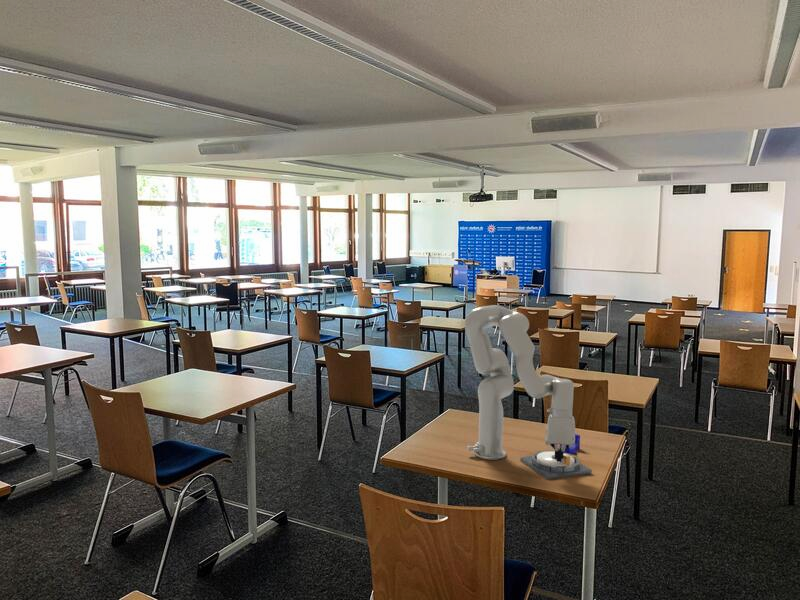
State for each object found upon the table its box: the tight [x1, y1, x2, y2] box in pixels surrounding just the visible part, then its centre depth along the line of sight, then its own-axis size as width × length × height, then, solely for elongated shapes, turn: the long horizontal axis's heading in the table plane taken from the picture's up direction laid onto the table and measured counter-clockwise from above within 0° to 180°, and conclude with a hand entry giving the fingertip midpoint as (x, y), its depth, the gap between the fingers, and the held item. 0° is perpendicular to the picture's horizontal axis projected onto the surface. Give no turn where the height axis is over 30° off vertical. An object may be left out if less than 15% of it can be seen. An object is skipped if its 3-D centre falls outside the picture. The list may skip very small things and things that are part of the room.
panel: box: [520, 449, 593, 480], centre depth 223 cm, size 19×19×4 cm
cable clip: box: [558, 433, 581, 455], centre depth 240 cm, size 12×4×6 cm, turn 137°
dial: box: [537, 450, 575, 467], centre depth 223 cm, size 14×14×5 cm
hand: (558, 460), depth 217 cm, fingers closed
